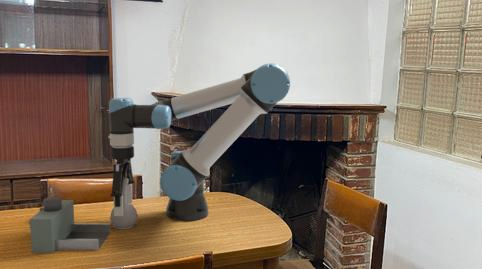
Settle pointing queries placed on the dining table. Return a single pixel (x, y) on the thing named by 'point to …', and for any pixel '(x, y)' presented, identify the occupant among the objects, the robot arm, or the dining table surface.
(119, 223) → the potion bottle
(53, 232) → the housing
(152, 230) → the dining table surface
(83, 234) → the side bay
